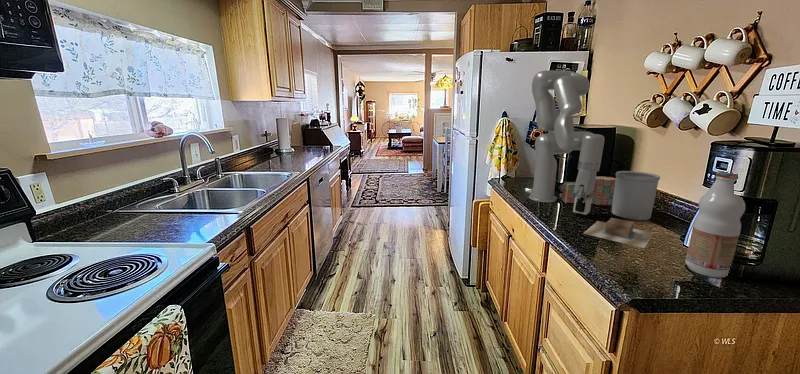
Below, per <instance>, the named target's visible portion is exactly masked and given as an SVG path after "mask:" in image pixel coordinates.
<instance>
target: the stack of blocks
mask: <svg viewBox="0 0 800 374" xmlns="http://www.w3.org/2000/svg"><path fill="white" fill-rule="evenodd" d="M615 181H616V177H613V176H601V175H600V176H597V175H596V180H595V186H594V190H593V192H592V193H591V196H590V197H591V198H592V203H591V204H596V205H597V206H612V203H613V196H614V188H615ZM575 184H576V181H563V184H562V185H563V188H562V193H561V201H562V202H563V203H565V204H566V203H574V201H575V197H577V194H578V193H577V194H574V189H575ZM596 205H595V206H596Z"/></svg>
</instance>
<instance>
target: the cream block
mask: <svg viewBox="0 0 800 374" xmlns="http://www.w3.org/2000/svg"><path fill="white" fill-rule="evenodd" d="M582 197H583V198H584V196H582ZM576 201H577V197H575V201H574V204H573V207H572V209H573V210H572V212H573V213H577V214H580V215H585V216H586V215H588V214H589V213H591V207H592V205H591V203H592V198H591V197H586V199H585V209H584V212H578V211H575V207H576Z"/></svg>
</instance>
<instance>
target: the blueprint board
mask: <svg viewBox="0 0 800 374" xmlns="http://www.w3.org/2000/svg"><path fill="white" fill-rule="evenodd" d="M605 228H606V221H605V222H604V221H601V220H597V221H596V222H595V223H594V224H592V225H591V226H590V227H589V228H587V230H585V231H584V232H583V235H588V236H591V237H596V238H600V239H605V240H609V241H613V242H617V243H621V244H625V245H629V246H632V247H633V246H634V247H637V248H642V249H645V247H646V246H647V245H648V243H649V242H650V240H651V238H652V237H653V236H654V233H655V232H653V231H652V232H651V231H648V230H643V229H637V228H634V227H633V233H632V234H631V235H630V237H629V238H624V237H619V236H615V235H611V234H606V233H605Z"/></svg>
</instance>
